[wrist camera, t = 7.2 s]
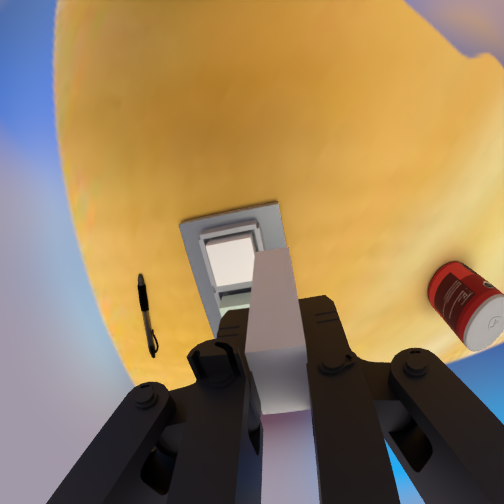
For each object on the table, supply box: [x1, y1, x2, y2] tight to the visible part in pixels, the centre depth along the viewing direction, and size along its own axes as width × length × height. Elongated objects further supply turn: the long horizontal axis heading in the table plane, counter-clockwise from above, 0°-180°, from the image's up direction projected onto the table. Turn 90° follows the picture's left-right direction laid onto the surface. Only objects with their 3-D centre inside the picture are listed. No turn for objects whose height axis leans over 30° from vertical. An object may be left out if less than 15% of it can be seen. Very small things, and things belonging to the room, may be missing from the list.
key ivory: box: [206, 230, 256, 287], centre depth 30 cm, size 4×4×2 cm
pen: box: [137, 274, 159, 358], centre depth 37 cm, size 14×2×1 cm, turn 177°
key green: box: [219, 292, 251, 317], centre depth 30 cm, size 4×4×2 cm
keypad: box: [179, 201, 287, 339], centre depth 33 cm, size 21×11×4 cm, turn 12°
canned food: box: [428, 262, 504, 351], centre depth 28 cm, size 8×8×11 cm
